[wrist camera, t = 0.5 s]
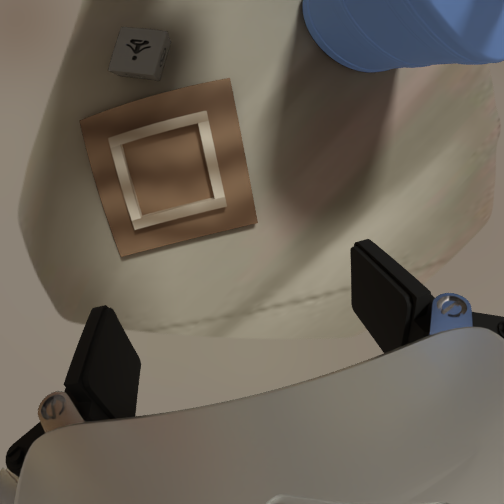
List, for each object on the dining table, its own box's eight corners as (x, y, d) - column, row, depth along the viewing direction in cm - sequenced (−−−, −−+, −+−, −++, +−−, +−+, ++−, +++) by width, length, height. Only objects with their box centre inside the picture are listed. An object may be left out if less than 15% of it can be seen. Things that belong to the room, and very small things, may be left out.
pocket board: (82, 120, 30) (76, 120, 28) (229, 79, 31) (230, 76, 29) (122, 253, 38) (119, 260, 36) (256, 220, 39) (259, 225, 37)
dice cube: (171, 42, 28) (167, 31, 23) (159, 80, 30) (153, 75, 25) (130, 37, 27) (121, 26, 22) (119, 75, 28) (107, 70, 24)
